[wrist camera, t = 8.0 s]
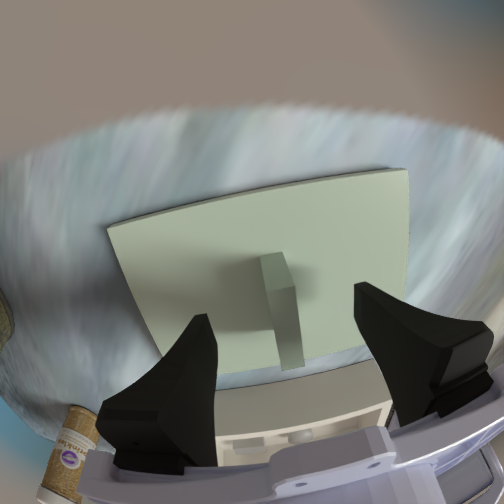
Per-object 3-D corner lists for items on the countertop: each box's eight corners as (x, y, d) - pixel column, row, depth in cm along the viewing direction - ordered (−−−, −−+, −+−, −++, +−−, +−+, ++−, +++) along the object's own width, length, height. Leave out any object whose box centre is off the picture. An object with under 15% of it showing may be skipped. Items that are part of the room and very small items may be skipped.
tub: (373, 358, 20) (393, 398, 16) (361, 421, 24) (372, 453, 20) (183, 393, 20) (176, 437, 16) (218, 447, 25) (218, 480, 21)
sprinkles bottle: (101, 412, 22) (71, 517, 10) (107, 431, 24) (83, 523, 11) (65, 398, 21) (28, 495, 9) (73, 418, 23) (44, 505, 11)
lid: (393, 165, 14) (447, 182, 10) (390, 320, 19) (420, 364, 14) (117, 220, 15) (75, 255, 10) (178, 363, 19) (168, 416, 15)
